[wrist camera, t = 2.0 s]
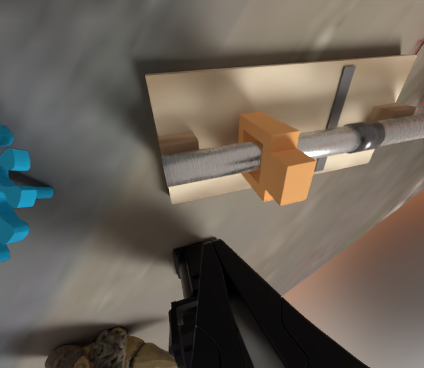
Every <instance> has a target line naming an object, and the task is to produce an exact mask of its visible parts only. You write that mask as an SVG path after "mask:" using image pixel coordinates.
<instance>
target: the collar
mask: <svg viewBox="0 0 424 368" xmlns="http://www.w3.org/2000/svg"><path fill="white" fill-rule="evenodd" d="M299 134H300V131H299V130H297V129H295V128H293V127H291V126H289V125H287V124H285V123H283V122H281V121H279V120H277V119H275V118H273V117H271V116H269V115H267V114H265V113H263V112H253V113H245V114H239V138H238V143H242V142H249V141H255V140H258V141H259V142H261V143H262V144H263V150H262V160H261V169H260V170H255V171H249V172H244V173H241V174H242V176H243V177H244V178H245V179H246V181H247V182H248V183H249V184H250V185H251V187H252V188H253V189H254V190H255V192H256V193H257V194H258V195H259V197H260V198H261V199H262V200H263V202H265V201H269V200H275V201H276V202H277V203H278V204H279V205H280V206H282V205H286V204H290V203H294V202H299V201H303V200H306V198H307V194H308V191H309V187H310V184H311V180H312V177H313V173H314V170H315V166H316V163H317V160H315V159H313V158H312V157H310V156H308V155H307V154H305V153H304V152H302V151H300V150H299V149H297V143H298V138H299Z"/></svg>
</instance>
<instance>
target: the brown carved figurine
mask: <svg viewBox="0 0 424 368" xmlns="http://www.w3.org/2000/svg"><path fill="white" fill-rule="evenodd" d="M45 368H178V367H177V365H176V363H175V359H174V358H172V357H171V356H170V355H169V352H168V351H165V350H163V349H161V348H159V347H158V346H156V345H155V344H153V343H145V342H144V341H143V340H142V339H140V338H137V337H134V336H127V332H126V330H123V329H122V328H114V329H113V330H112V331H110V330H104V331H103V332H101V333H100V335H99V336H98V338H97V341H95V342H93V343H92V344H90V345H88V346H86V347H83V348H82V347H79V346H77V345H65V346H61V347H59V348H57V349H56V350H54V351H53V352H52V353H51V354H50V355H49V356H48V358H47V360H46V362H45Z"/></svg>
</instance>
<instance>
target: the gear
mask: <svg viewBox="0 0 424 368" xmlns="http://www.w3.org/2000/svg"><path fill="white" fill-rule="evenodd" d="M13 140H14V137H13V134H12V133H11V131H10V130H9V129H8V128H7V127H6V126H2V125H0V147H2V146H9V145H11V144H12V142H13ZM29 169H30V157H29V153H28V151H25V150H18V149H12V148H8V149H6V150H5V151H4V152H3V153H2V154H1V155H0V262H3V261H6V260H9V259H10V251H9V249H8V247H7V245H6V244H9V243H14V242H18V241H21V240H23V239H24V238H25V237H26V236H27V234H28V233H29V231H30V228H29V225H28V224H27V223H26V222H25V221H23V220H21V219H20V218H19V217H18V216H17V215H16V213H15V211H14V209H13V208H21V207H32V206H33V205H34V202H35V199H43V198H51V197H52V196H53V194H54V191H53V189H52V188H51V187H33V186H18V185H16V184H15V183H13V182H12V181H11V180H10V179H9V176H8V172H9V170H16V171H27V170H29Z"/></svg>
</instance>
